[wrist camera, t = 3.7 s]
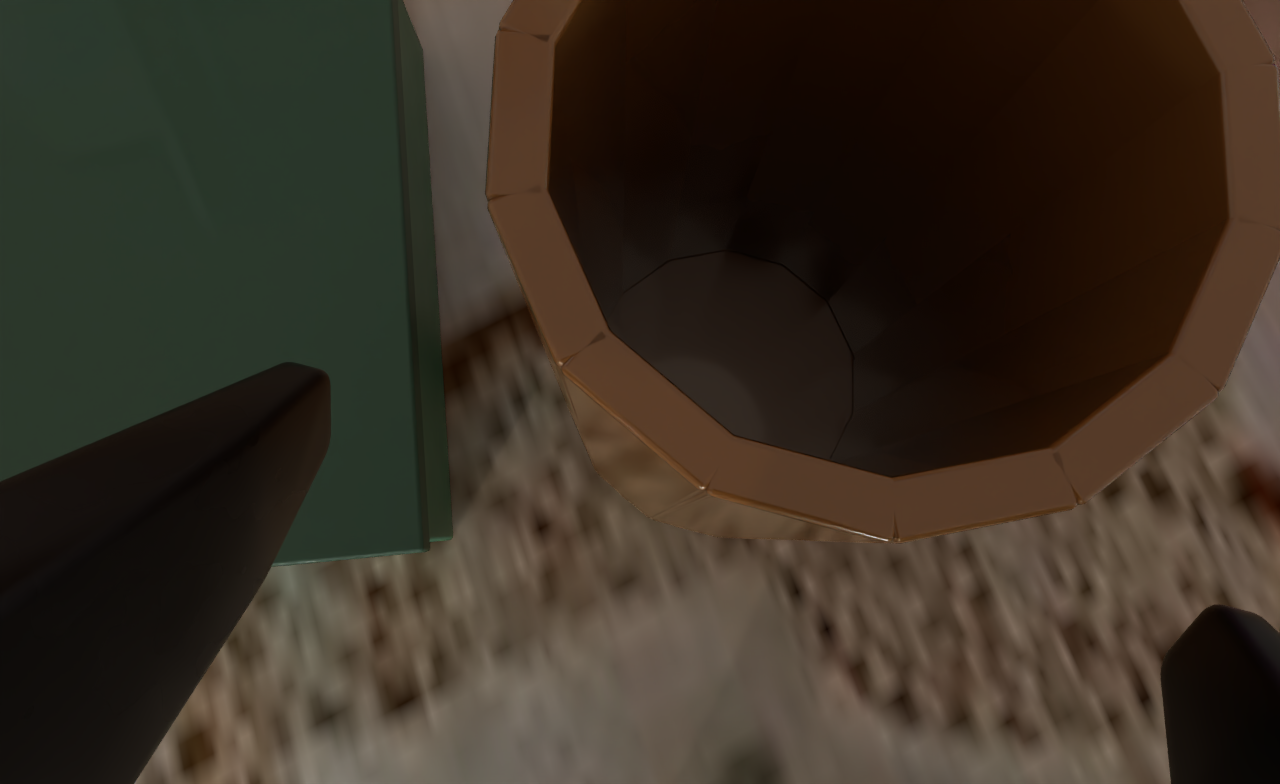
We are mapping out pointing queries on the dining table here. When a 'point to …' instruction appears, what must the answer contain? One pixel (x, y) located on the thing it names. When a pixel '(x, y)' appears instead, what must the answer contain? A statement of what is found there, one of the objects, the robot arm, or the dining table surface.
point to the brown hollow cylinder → (883, 245)
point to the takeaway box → (226, 239)
